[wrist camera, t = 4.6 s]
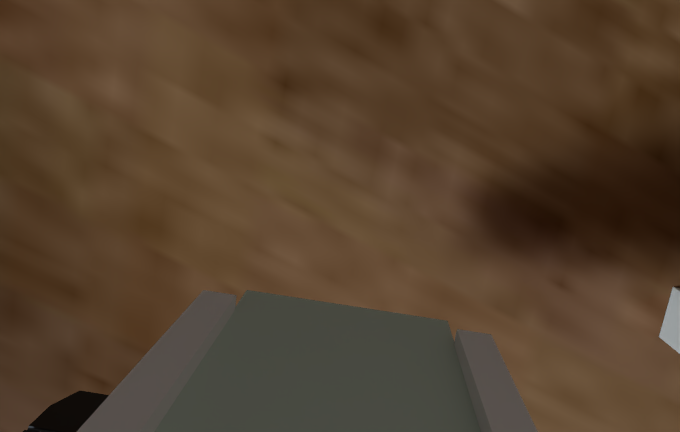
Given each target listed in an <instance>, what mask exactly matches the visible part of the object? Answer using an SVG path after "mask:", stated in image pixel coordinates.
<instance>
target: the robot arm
mask: <svg viewBox="0 0 680 432" xmlns="http://www.w3.org/2000/svg"><path fill="white" fill-rule="evenodd" d="M235 305H236V295H232V294H225V293H219V292H212V291H206V290H203V291H202V292H201V294H200V295H199V296H198V297H197V298H196V299H195V300H194V301H193V302H192V304H191V305H190V306H189V307H188V308H187V309H186V310H185V311H184V313H183V314H182V315H181V316H180V317H179V318H178V319H177V320H176V321H175V323H174V324H173V325H172V326H171V327H170V328H169V329H168V330H167V331H166V333H165V334H164V335H163V336H162V337H161V338H160V339H159V340H158V342H157V343H156V344H155V345H154V346H153V347H152V348H151V349H150V350H149V352H148V353H147V354H146V355H145V356H144V357H143V358H142V359H141V360H140V362H139V363H138V364H137V365H136V366H135V367H134V368H133V369H132V370H131V372H130V373H129V374H128V375H127V376H126V377H125V378H124V379H123V381H122V382H121V383H120V384H119V385H118V386H117V387H116V388H115V389H114V391H113V392H112V393H111V394H110V395H104V394H98V393H91V392H85V391H78V392H76V393H74V394H72V395H70V396H68V397H66V398H64V399H62V400H60V401H58V402H56V403H54V404H53V405H51V406H49V407H48V408H47V409H46V410H45V411H44V412H43V413H42V414H41V415H40V416H39V417H38V418H37V419H36V420H35V421H34V422H32V423H31V424H30V425H29V428H28V430H24V431H23V432H155V430H156V429H157V427H158V425H159V424H160V422H161V421H162V419H163V418H164V416H165V415H166V413H167V412H168V410H169V409H170V407H171V406H172V404H173V403H174V401H175V400H176V398H177V397H178V395H179V394H180V392H181V391H182V389H183V388H184V386H185V385H186V383H187V382H188V380H189V379H190V377H191V376H192V374H193V373H194V371H195V370H196V368H197V367H198V365H199V364H200V362H201V361H202V359H203V358H204V356H205V355H206V353H207V352H208V350H209V349H210V347H211V346H212V344H213V343H214V341H215V340H216V338H217V337H218V335H219V334H220V332H221V331H222V329H223V328H224V326H225V325H226V323H227V321H228V320H229V318H230V317H231V315H232V314H233V312H234V311H235ZM454 346H455V349H456V352H457V356H458V359H459V362H460V365H461V369H462V372H463V375H464V378H465V382H466V385H467V388H468V391H469V395H470V398H471V401H472V404H473V408H474V411H475V414H476V417H477V421H478V424H479V427H480V430H481V432H537V430H536V427H535V425H534V423H533V421H532V419H531V417H530V415H529V413H528V411H527V409H526V407H525V404H524V402H523V400H522V398H521V396H520V394H519V392H518V390H517V388H516V386H515V384H514V381H513V379H512V377H511V375H510V373H509V371H508V369H507V367H506V365H505V363H504V361H503V358H502V356H501V354H500V352H499V350H498V348H497V346H496V344H495V342H494V340H493V338H492V335H491V334H484V333H478V332H471V331H465V330H459V329H457V332H456V337H455V342H454Z"/></svg>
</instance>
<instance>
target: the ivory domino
mask: <svg viewBox="0 0 680 432" xmlns="http://www.w3.org/2000/svg"><path fill="white" fill-rule="evenodd" d="M659 337H660V338H661V339H662V340H664V341H665V342H666V343H667V344H668V345H670V346H671V347H672V348H673V349H674V350H676V351H677V352H678V353H679V354H680V288H676V287H673V289H672V292H671V296H670V299H669V303H668V306H667V310H666V314H665V317H664V321H663V324H662V328H661V332H660V335H659Z"/></svg>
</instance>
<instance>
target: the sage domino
mask: <svg viewBox="0 0 680 432" xmlns="http://www.w3.org/2000/svg"><path fill="white" fill-rule="evenodd" d="M155 432H481V430H480V427H479V424H478V421H477V417H476V414H475V411H474V408H473V404H472V401H471V398H470V395H469V391H468V388H467V385H466V382H465V378H464V375H463V372H462V369H461V365H460V362H459V359H458V356H457V352H456V349H455V346H454V340H453V337H452V334H451V330H450V327H449V324H448V321H445V320H439V319H432V318H426V317H419V316H413V315H406V314H400V313H393V312H387V311H380V310H374V309H367V308H361V307H354V306H347V305H341V304H334V303H328V302H321V301H315V300H308V299H302V298H295V297H289V296H282V295H276V294H269V293H263V292H256V291H250V290H247V291H246V292H245V294H244V295H243V297H242V298H241V300H240V301H239V303H238V304H237V306H236V307H235V311H234V312H233V314H232V315H231V317H230V318H229V320H228V321H227V323H226V325H225V326H224V328H223V329H222V331H221V332H220V334H219V335H218V337H217V338H216V340H215V341H214V343H213V344H212V346H211V347H210V349H209V350H208V352H207V353H206V355H205V356H204V358H203V359H202V361H201V362H200V364H199V365H198V367H197V368H196V370H195V371H194V373H193V374H192V376H191V377H190V379H189V380H188V382H187V383H186V385H185V386H184V388H183V389H182V391H181V392H180V394H179V395H178V397H177V398H176V400H175V401H174V403H173V404H172V406H171V407H170V409H169V410H168V412H167V413H166V415H165V416H164V418H163V419H162V421H161V422H160V424H159V425H158V427H157V429H156V430H155Z"/></svg>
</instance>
